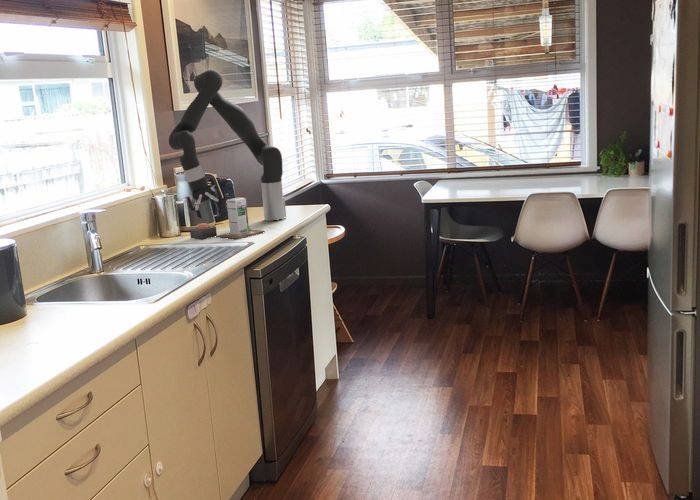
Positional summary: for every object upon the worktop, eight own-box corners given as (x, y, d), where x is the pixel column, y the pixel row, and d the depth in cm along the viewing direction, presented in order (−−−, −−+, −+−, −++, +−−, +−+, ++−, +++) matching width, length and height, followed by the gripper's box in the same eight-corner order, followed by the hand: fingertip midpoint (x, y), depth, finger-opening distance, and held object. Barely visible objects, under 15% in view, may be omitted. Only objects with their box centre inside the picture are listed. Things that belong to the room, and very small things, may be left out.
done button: (204, 230, 320) (203, 222, 319) (210, 230, 317) (210, 223, 316) (195, 231, 316) (194, 224, 316) (202, 232, 313) (201, 225, 313)
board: (245, 230, 327) (245, 228, 326) (264, 232, 319) (264, 230, 319) (216, 237, 315) (215, 235, 315) (235, 239, 307) (235, 237, 307)
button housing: (205, 234, 322) (204, 225, 321) (216, 236, 317) (216, 226, 316) (190, 238, 317) (189, 228, 316) (202, 239, 312) (201, 230, 311)
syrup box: (239, 235, 313) (236, 199, 310) (229, 234, 316) (226, 199, 313) (249, 232, 317) (246, 197, 314) (239, 231, 321) (236, 197, 318)
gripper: (208, 171, 322) (222, 206, 327) (177, 183, 317) (192, 219, 322) (214, 172, 315) (228, 208, 320) (182, 185, 310) (196, 221, 315)
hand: (210, 214), depth 321 cm, fingers open, 8 cm apart
